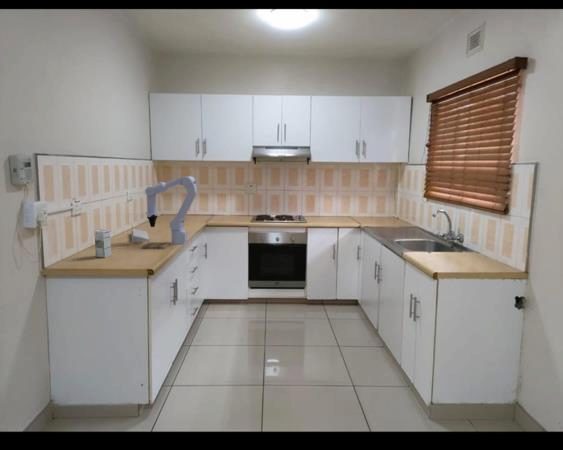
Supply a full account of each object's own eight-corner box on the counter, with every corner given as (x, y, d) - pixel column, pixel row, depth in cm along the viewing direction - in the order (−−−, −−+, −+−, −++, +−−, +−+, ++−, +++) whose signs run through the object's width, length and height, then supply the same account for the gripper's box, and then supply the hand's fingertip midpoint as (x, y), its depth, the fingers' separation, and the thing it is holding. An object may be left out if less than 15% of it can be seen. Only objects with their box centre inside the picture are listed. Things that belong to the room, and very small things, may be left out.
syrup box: (111, 255, 216) (110, 229, 214) (104, 258, 210) (103, 231, 208) (102, 255, 217) (101, 229, 215) (95, 257, 212) (93, 230, 210)
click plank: (160, 244, 248) (159, 242, 248) (153, 248, 234) (153, 246, 234) (148, 244, 248) (148, 242, 248) (141, 248, 234) (141, 246, 234)
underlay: (171, 244, 249) (171, 244, 249) (164, 249, 233) (164, 249, 233) (148, 244, 249) (148, 243, 249) (140, 249, 233) (140, 249, 233)
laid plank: (170, 244, 248) (170, 242, 248) (164, 248, 234) (164, 246, 234) (160, 244, 248) (160, 242, 248) (153, 248, 234) (153, 246, 234)
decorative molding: (145, 237, 288) (131, 234, 284) (146, 231, 288) (132, 228, 284) (147, 246, 257) (131, 243, 253) (149, 239, 257) (133, 236, 253)
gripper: (149, 204, 257) (149, 225, 259) (141, 206, 243) (142, 228, 245) (160, 204, 258) (160, 225, 260) (153, 206, 243) (154, 228, 245)
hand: (152, 226), depth 252 cm, fingers closed
